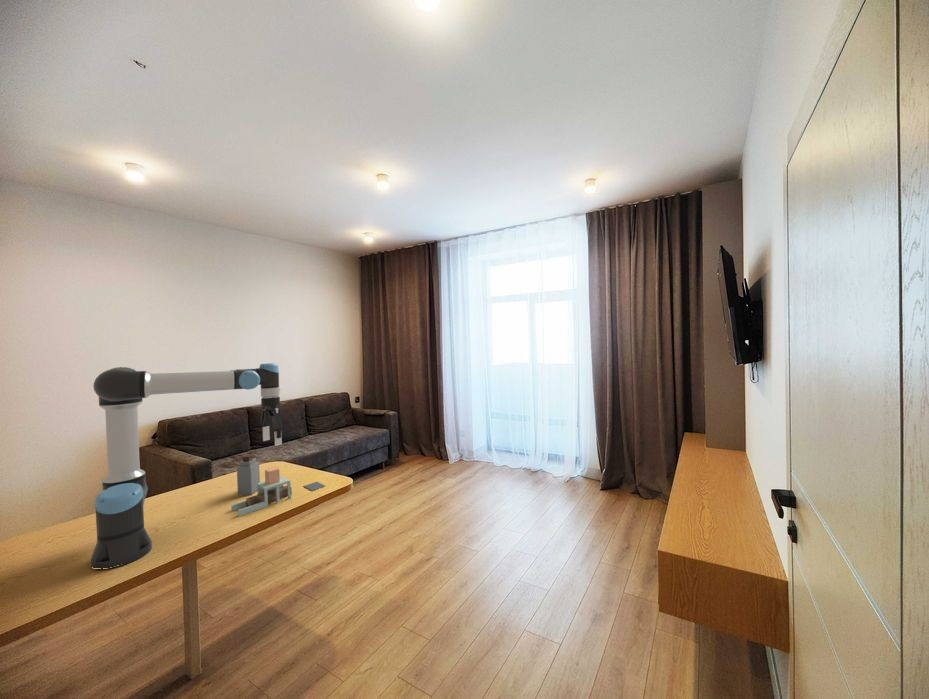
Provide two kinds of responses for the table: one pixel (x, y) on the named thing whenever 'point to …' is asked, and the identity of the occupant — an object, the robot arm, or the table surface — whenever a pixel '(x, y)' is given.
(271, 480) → the block
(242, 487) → the perfume bottle
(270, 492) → the rod
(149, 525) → the table surface
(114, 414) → the robot arm
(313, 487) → the trap mat
